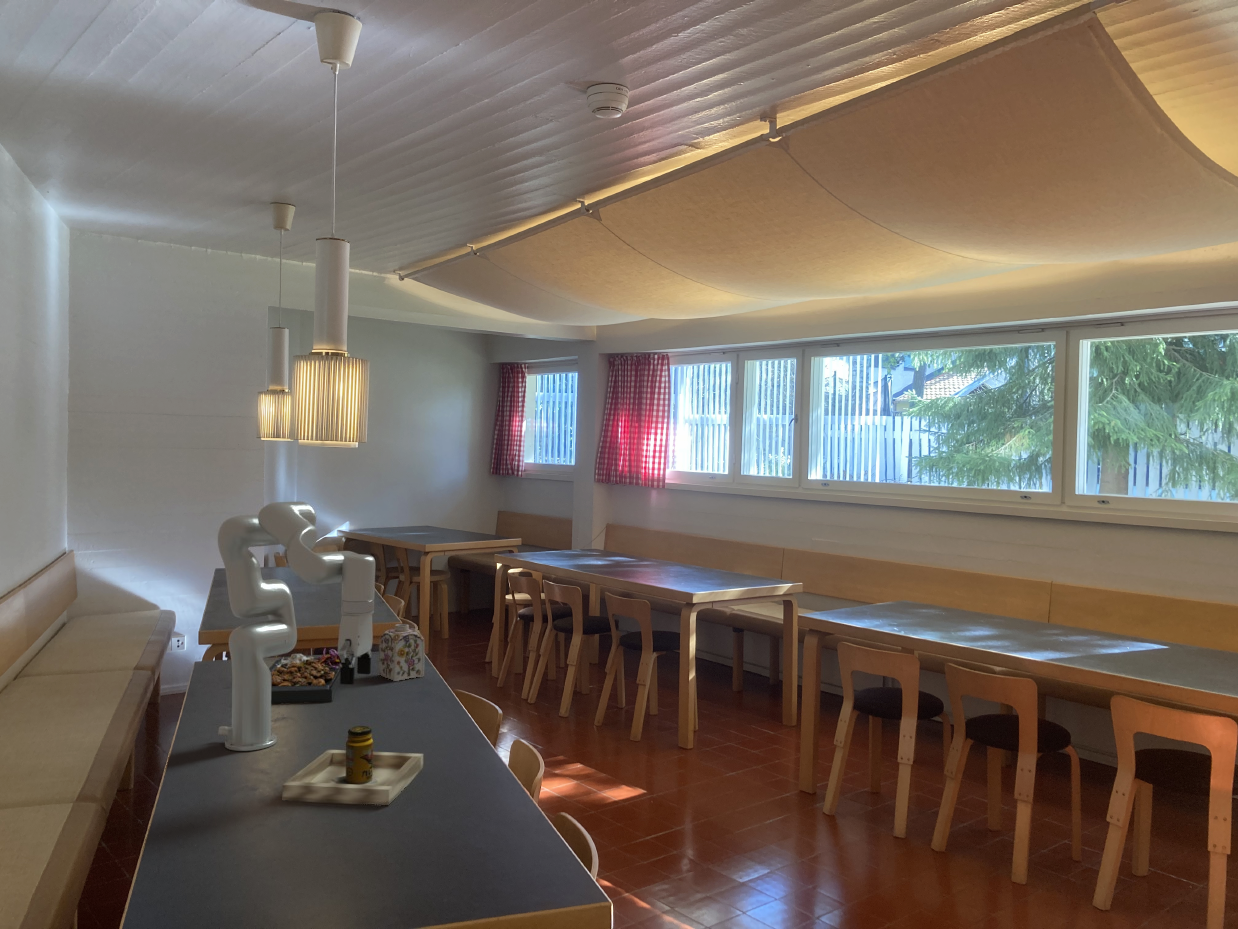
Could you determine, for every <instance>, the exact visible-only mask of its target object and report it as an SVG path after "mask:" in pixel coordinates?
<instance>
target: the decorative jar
mask: <svg viewBox="0 0 1238 929" xmlns="http://www.w3.org/2000/svg"><path fill="white" fill-rule="evenodd" d="M409 626H410V625H409V624H407V623H397V624H395V625H394V628H391V629H387V630H386V631H384V632H383V633H382V634H381V636H380V637H379V640H378V645H379V646H378V676H379V675H381V676H383V677H385V678H384V679H386V678H388V679H387V680H389V679H391V680H393V681H392V682H394V681H397V682H400V681H399V680H403V681H406V680H405V679H409V678H414V679H417V678H416V677H420V678H424V677H423V676H425V638H424V636H423V635H422V633H421V632H420V630H419V629H416V628H412V627H411V628H410V627H409ZM381 676H380V677H381ZM383 677H382V678H383ZM391 680H390V681H391ZM409 680H410V679H409Z"/></svg>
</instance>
